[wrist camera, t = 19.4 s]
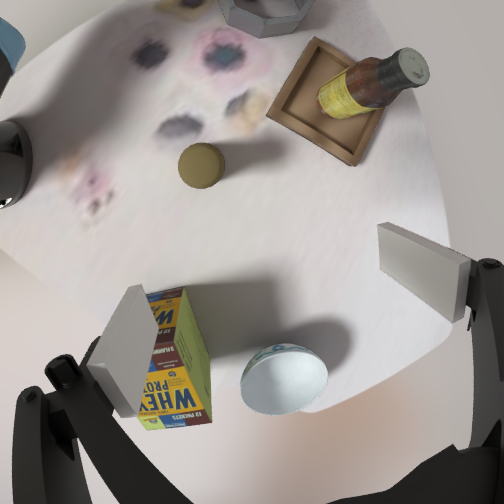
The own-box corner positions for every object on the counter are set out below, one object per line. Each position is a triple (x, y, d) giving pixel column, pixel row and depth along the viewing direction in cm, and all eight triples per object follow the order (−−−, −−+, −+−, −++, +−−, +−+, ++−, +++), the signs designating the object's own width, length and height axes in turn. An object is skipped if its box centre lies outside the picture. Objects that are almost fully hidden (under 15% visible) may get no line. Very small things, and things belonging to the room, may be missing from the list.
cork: (204, 135, 39) (201, 126, 28) (233, 164, 41) (241, 165, 30) (173, 165, 40) (160, 167, 29) (203, 194, 41) (200, 205, 31)
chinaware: (324, 365, 54) (338, 390, 47) (258, 398, 55) (264, 425, 47) (296, 311, 49) (310, 335, 42) (220, 350, 50) (222, 378, 42)
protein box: (184, 284, 45) (174, 340, 30) (210, 359, 50) (213, 424, 35) (125, 298, 44) (95, 354, 30) (157, 369, 49) (146, 432, 35)
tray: (265, 115, 39) (268, 113, 37) (309, 41, 36) (314, 36, 34) (348, 166, 43) (356, 166, 40) (384, 93, 40) (392, 90, 37)
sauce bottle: (340, 128, 40) (426, 115, 21) (306, 105, 38) (377, 70, 20) (358, 96, 39) (444, 70, 20) (326, 73, 37) (400, 27, 18)
